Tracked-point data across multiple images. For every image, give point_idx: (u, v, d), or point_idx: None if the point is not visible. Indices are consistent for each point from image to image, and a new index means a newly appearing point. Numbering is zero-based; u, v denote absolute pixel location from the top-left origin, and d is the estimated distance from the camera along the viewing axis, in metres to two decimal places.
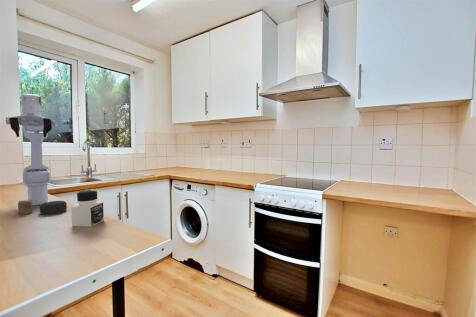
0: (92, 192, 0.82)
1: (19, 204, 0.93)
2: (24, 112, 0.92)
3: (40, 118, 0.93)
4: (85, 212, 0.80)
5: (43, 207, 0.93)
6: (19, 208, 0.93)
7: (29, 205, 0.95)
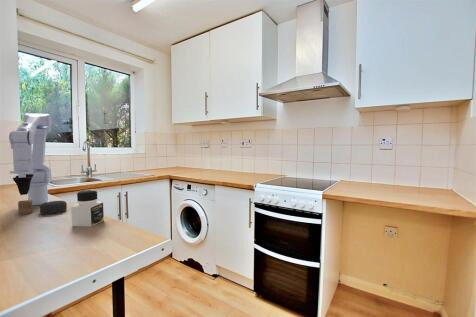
0: (92, 192, 0.82)
1: (19, 204, 0.93)
2: None
3: (17, 173, 0.92)
4: (85, 211, 0.80)
5: (43, 207, 0.93)
6: (19, 208, 0.93)
7: (29, 205, 0.95)
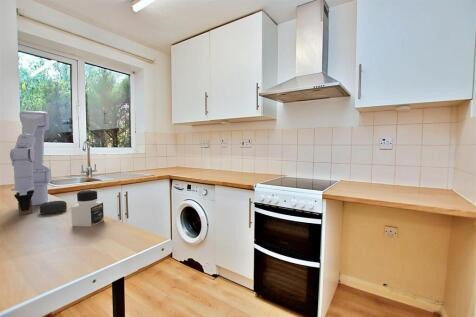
0: (92, 192, 0.82)
1: None
2: None
3: (18, 191, 0.92)
4: (85, 211, 0.80)
5: (43, 207, 0.93)
6: (19, 208, 0.93)
7: None
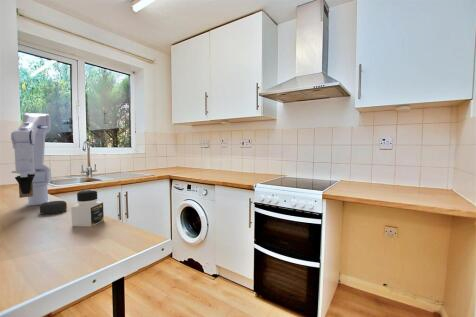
0: (92, 192, 0.82)
1: None
2: None
3: None
4: (85, 212, 0.80)
5: (43, 207, 0.93)
6: (20, 191, 0.93)
7: None
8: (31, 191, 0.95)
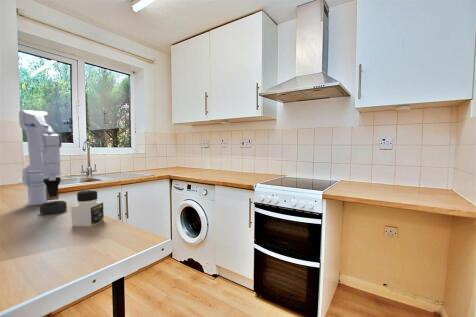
0: (92, 192, 0.82)
1: (47, 190, 0.94)
2: None
3: (46, 176, 0.94)
4: (85, 212, 0.80)
5: (43, 207, 0.93)
6: (47, 194, 0.95)
7: None
8: (57, 194, 0.97)
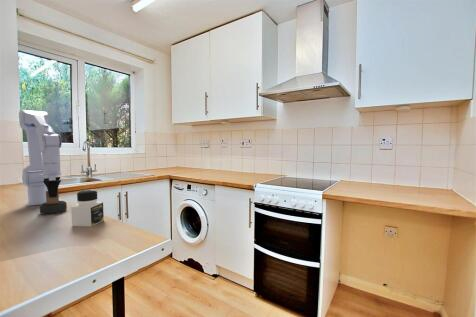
0: (92, 192, 0.82)
1: (47, 194, 0.95)
2: None
3: (46, 176, 0.94)
4: (85, 211, 0.80)
5: (43, 207, 0.93)
6: (47, 198, 0.95)
7: None
8: (57, 198, 0.97)
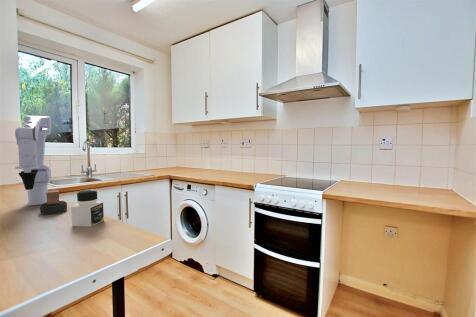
0: (92, 192, 0.82)
1: (47, 194, 0.95)
2: None
3: None
4: (85, 212, 0.80)
5: (44, 207, 0.93)
6: (47, 198, 0.95)
7: (57, 195, 0.97)
8: (58, 198, 0.97)
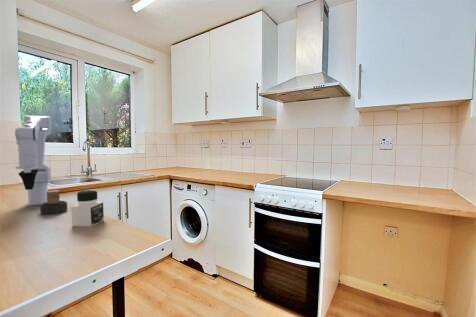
0: (92, 192, 0.82)
1: (48, 194, 0.95)
2: None
3: None
4: (85, 212, 0.80)
5: (44, 207, 0.93)
6: (48, 198, 0.95)
7: (57, 195, 0.97)
8: (58, 198, 0.97)
